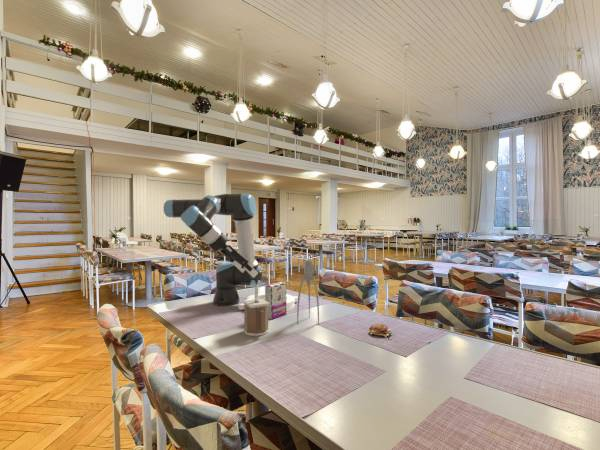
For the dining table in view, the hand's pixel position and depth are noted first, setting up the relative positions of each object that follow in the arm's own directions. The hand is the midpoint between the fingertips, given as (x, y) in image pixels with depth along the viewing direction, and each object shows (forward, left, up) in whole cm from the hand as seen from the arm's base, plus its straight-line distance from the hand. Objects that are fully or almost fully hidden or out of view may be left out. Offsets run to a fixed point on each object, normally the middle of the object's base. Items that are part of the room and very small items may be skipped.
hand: (250, 272), depth 132 cm
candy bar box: (-17, +20, -26) cm, 37 cm away
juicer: (-3, +31, -26) cm, 41 cm away
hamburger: (+29, +49, -27) cm, 63 cm away
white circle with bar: (-35, +25, -27) cm, 51 cm away
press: (0, +3, -26) cm, 26 cm away
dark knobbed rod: (-1, +3, -17) cm, 18 cm away
